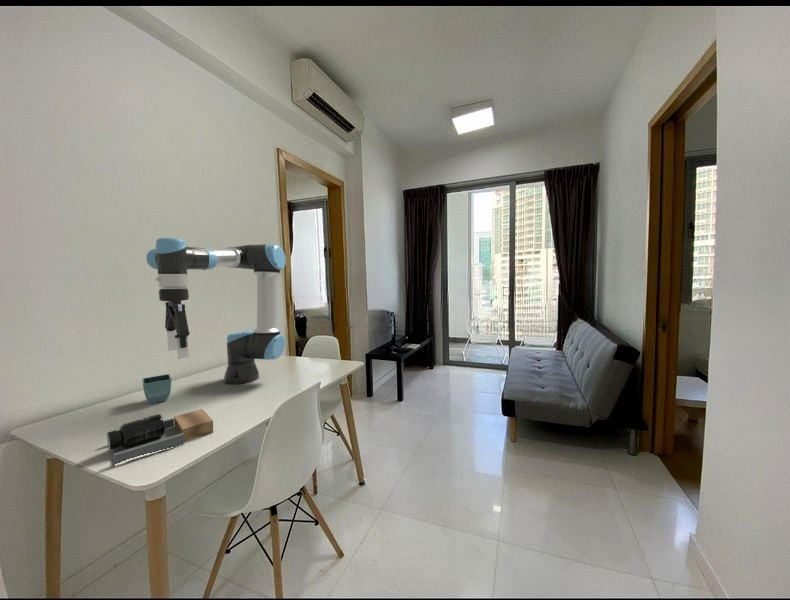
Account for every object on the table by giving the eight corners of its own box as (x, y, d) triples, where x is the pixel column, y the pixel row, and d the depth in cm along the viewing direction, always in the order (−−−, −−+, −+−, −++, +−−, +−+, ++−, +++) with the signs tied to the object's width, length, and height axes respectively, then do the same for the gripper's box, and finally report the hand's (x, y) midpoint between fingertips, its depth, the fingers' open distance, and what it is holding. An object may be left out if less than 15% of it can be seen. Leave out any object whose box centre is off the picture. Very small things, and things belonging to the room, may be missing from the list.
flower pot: (144, 407, 114) (142, 384, 114) (143, 400, 121) (142, 378, 120) (172, 401, 120) (171, 379, 119) (170, 394, 127) (169, 373, 126)
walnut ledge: (202, 420, 104) (202, 408, 104) (213, 432, 95) (212, 420, 95) (174, 428, 98) (174, 416, 98) (182, 442, 90) (182, 429, 89)
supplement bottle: (160, 408, 92) (106, 423, 83) (166, 427, 89) (111, 444, 80) (156, 422, 95) (104, 438, 86) (163, 440, 92) (109, 459, 83)
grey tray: (173, 426, 99) (173, 417, 99) (184, 444, 89) (183, 434, 88) (111, 444, 88) (110, 434, 88) (114, 466, 78) (113, 455, 78)
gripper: (151, 287, 101) (156, 349, 103) (167, 290, 84) (172, 364, 86) (178, 286, 107) (182, 345, 109) (198, 288, 90) (202, 358, 92)
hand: (178, 353), depth 97 cm, fingers open, 13 cm apart
